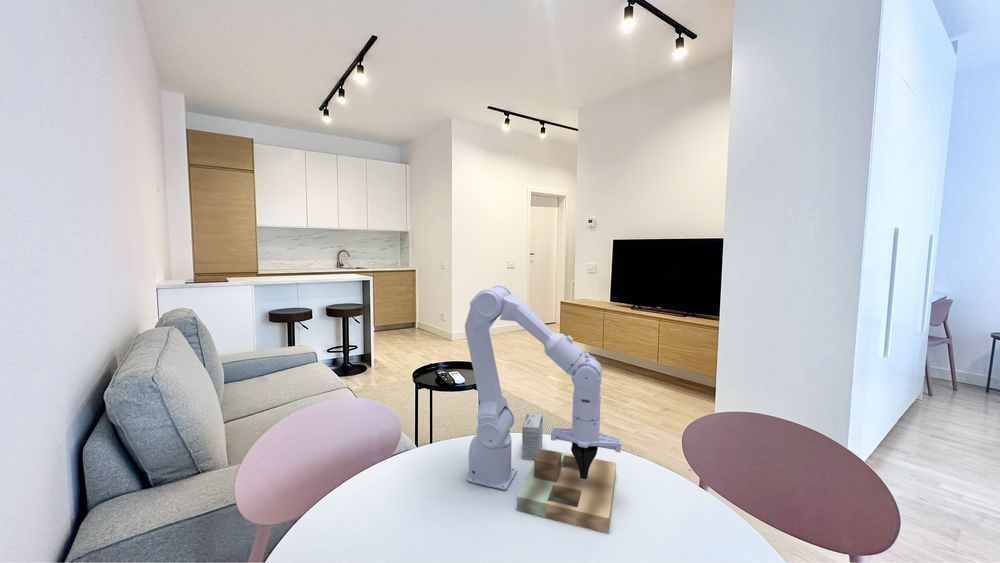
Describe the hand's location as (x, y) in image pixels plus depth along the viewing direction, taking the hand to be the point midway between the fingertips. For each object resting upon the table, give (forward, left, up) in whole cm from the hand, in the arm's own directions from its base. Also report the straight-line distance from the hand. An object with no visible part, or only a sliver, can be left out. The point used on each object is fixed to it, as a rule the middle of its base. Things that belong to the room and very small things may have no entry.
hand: (584, 476), depth 84 cm
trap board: (-3, 0, -4) cm, 5 cm away
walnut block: (-8, 0, -1) cm, 8 cm away
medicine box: (-15, +13, -4) cm, 20 cm away
